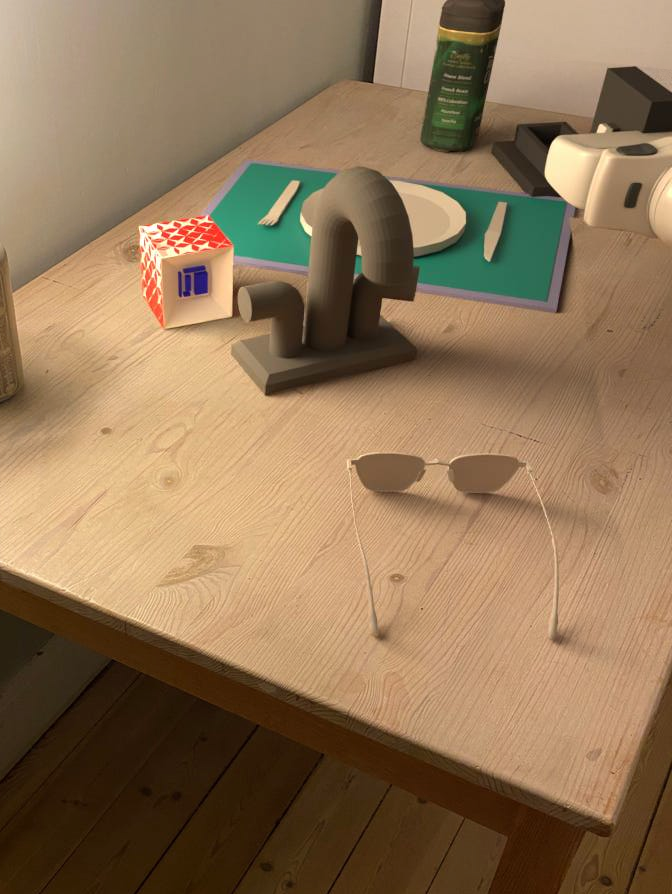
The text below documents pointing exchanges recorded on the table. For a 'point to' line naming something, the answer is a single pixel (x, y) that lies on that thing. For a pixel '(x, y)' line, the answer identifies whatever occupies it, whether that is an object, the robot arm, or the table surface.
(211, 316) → the patterned open box
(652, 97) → the upright pad
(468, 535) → the table surface
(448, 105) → the coffee jar
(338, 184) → the faucet
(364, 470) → the eyeglasses
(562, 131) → the base pad
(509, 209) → the place mat
